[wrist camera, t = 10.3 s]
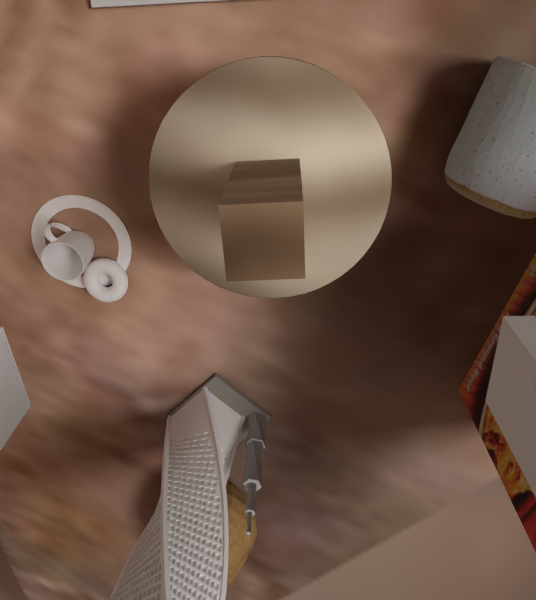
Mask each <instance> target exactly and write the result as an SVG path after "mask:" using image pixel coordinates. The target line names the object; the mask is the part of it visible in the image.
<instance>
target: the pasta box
mask: <svg viewBox="0 0 536 600" xmlns="http://www.w3.org/2000/svg"><path fill="white" fill-rule="evenodd" d="M503 316H535V317H536V253H535V255H534V257H533V259H532V260H531V262H530V264H529V266H528V268H527V269H526V271H525V273H524V275H523V276H522V278H521V280H520V282H519V283H518V285H517V287H516V289H515V291H514V292H513V294H512V296H511V298H510V299H509V301H508V303H507V305H506V306H505V308H504V310H503V312H502V314H501V315H500V317H499V319H498V321H497V322H496V324H495V326H494V328H493V330H492V331H491V333H490V335H489V337H488V338H487V340H486V342H485V344H484V345H483V347H482V349H481V351H480V353H479V354H478V356H477V358H476V360H475V361H474V363H473V365H472V367H471V368H470V370H469V372H468V374H467V376H466V377H465V379H464V381H463V383H462V384H461V386H460V388H459V392H460V394H461V396H462V398H463V400H464V402H465V404H466V406H467V408H468V411H469V413H470V415H471V417H472V419H473V421H474V423H475V425H476V427H477V430H478V432H479V434H480V436H481V438H482V440H483V442H484V444H485V446H486V448H487V451H488V453H489V455H490V457H491V459H492V461H493V463H494V465H495V467H496V470H497V472H498V474H499V476H500V478H501V480H502V482H503V484H504V486H505V488H506V491H507V493H508V495H509V497H510V499H511V501H512V503H513V505H514V507H515V509H516V512H517V514H518V516H519V518H520V520H521V522H522V524H523V526H524V528H525V530H526V533H527V535H528V537H529V539H530V541H531V543H532V545H533V547H534V549H535V551H536V497H535V495H534V493H533V491H532V489H531V488H530V486H529V484H528V482H527V480H526V478H525V476H524V474H523V472H522V470H521V468H520V466H519V464H518V462H517V461H516V459H515V457H514V455H513V453H512V451H511V449H510V447H509V445H508V443H507V441H506V439H505V437H504V435H503V434H502V432H501V430H500V428H499V426H498V424H497V422H496V420H495V418H494V416H493V414H492V412H491V410H490V408H489V407H488V405H487V403H486V401H485V400H486V395H487V391H488V386H489V381H490V376H491V372H492V367H493V362H494V358H495V353H496V348H497V343H498V339H499V334H500V329H501V325H502V320H503Z"/></svg>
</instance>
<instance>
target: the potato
mask: <svg viewBox="0 0 536 600" xmlns="http://www.w3.org/2000/svg"><path fill="white" fill-rule="evenodd" d="M226 494H227V507H228V530H229V551H228V574H227V586H228V585H229V584H230V583H231V582H232V580H233V579H234V578H235V577H236V575H237V574H238V572H239V571H240V569H241V567H242V566H243V564H244V562H245V560H246V558H247V556H248V554H249V552H250V550H251V548H252V546H253V544H254V541H255V537H256V534H257V527H256V521H255V515H254V516H252V520H251V534H250V535H247V534H246V529H247V521H248V516H246V514H245V507H246V501H247V497H246V496H245V495H244V494H243V493H242V492H241V491H240V490H239V489H237V488H236V487H235V486H234V485H233V484H232V483H229V482H227V484H226Z"/></svg>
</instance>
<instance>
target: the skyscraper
mask: <svg viewBox="0 0 536 600" xmlns="http://www.w3.org/2000/svg"><path fill="white" fill-rule="evenodd" d="M270 419H271V415H270V414H268V413H267V412H266V411H264V410H263V409H262V408H260V407H259V406H258V405H257V404H255V403H254V402H253V401H251V400H250V399H249V398H248V397H246V396H245V395H244V394H242V393H241V392H240V391H238V390H237V389H236V388H235V387H233V386H232V385H231V384H229V383H228V382H227V381H225V380H224V379H223V378H222V377H220V376H219V375H218V374H215V375H214V376H212V377H211V378H210V379H209V380H208V381H207V382H206V383H204V384H203V385H202V386H201V387H200V388H199V389H197V390H196V391H195V392H194V393H193V394H192V395H190V396H189V397H188V398H187V399H186V400H185V401H184V402H182V403H181V404H180V405H179V406H178V407H177V408H175V409H174V410H173V411H172V412H171V413H170V414H169V415H168V417H167V425H166V433H165V442H164V452H163V464H162V480H161V495H160V498H159V501H158V504H157V507H156V510H155V513H154V515H153V517H152V518H151V520H150V521H149V523H148V524H147V526H146V528H145V529H144V531H143V533H142V534H141V536H140V538H139V539H138V541H137V543H136V545H135V546H134V548H133V550H132V552H131V554H130V556H129V558H128V560H127V562H126V564H125V566H124V568H123V570H122V572H121V574H120V576H119V578H118V581H117V583H116V585H115V588H114V590H113V593H112V595H111V597H110V600H225V597H226V588H227V574H228V551H229V530H228V507H227V494H226V484H227V480H228V477H229V473H230V470H231V467H232V463H233V460H234V456H235V453H236V449H237V445H238V444H239V443H240V442H242V441H243V440H244V439H245V438H247V439H246V443H245V445H246V447H247V465H246V470H245V475H244V480H243V485H244V488H245V490H246V491H248V494H247V501H246V507H245V514H246V516H248V521H247V529H246V534H247V535H250V534H251V520H252V516H254V515H255V506H256V491H257V490H259V489H260V488H262V455H263V450H264V449H265V448H266V447H265V427H266V423H267V422H268V421H269V420H270Z"/></svg>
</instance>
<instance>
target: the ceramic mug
mask: <svg viewBox="0 0 536 600" xmlns="http://www.w3.org/2000/svg"><path fill="white" fill-rule="evenodd" d="M444 176H445V180H446V182H447V183H448V185H449V186H450V187H451V188H452V189H454V190H455V191H456V192H458V193H459V194H461V195H462V196H464V197H466V198H468V199H470V200H472V201H473V202H475V203H477V204H479V205H482V206H484V207H486V208H488V209H491V210H494V211H496V212H499V213H501V214H504V215H508V216H512V217H516V218H521V219H531V218H535V217H536V67H533V66H531V65H529V64H526V63H523V62H519V61H515V60H512V59H509V58H505V57H502V56H498V57H496V58H495V59H494V60H493V63H492V65H491V67H490V69H489V71H488V73H487V75H486V78H485V80H484V82H483V84H482V86H481V88H480V90H479V92H478V94H477V96H476V98H475V101H474V103H473V105H472V107H471V109H470V111H469V114H468V116H467V118H466V120H465V122H464V124H463V127H462V129H461V131H460V133H459V135H458V137H457V139H456V141H455V143H454V145H453V147H452V149H451V151H450V153H449V156H448V159H447V163H446V167H445V170H444Z"/></svg>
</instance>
